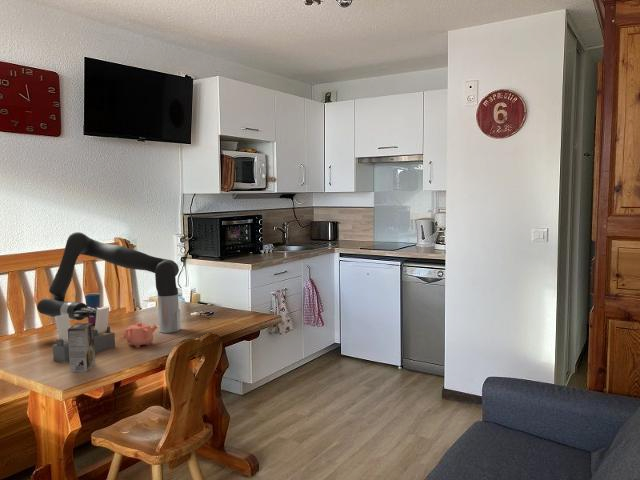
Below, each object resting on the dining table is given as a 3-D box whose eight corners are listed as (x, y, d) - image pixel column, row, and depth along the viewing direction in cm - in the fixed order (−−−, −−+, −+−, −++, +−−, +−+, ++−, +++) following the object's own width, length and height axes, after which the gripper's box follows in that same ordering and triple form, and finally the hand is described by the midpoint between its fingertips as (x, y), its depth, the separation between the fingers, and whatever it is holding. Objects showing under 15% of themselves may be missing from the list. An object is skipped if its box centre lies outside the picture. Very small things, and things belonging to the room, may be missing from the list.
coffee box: (78, 364, 205) (76, 322, 204) (95, 363, 205) (93, 322, 204) (69, 372, 196) (66, 328, 194) (87, 371, 196) (85, 328, 195)
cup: (104, 322, 273) (102, 293, 271) (94, 326, 266) (93, 296, 265) (93, 322, 275) (91, 293, 274) (83, 325, 269) (81, 295, 267)
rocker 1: (60, 344, 211) (54, 316, 211) (71, 341, 215) (65, 314, 216) (63, 343, 210) (56, 315, 211) (74, 340, 214) (68, 313, 215)
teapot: (158, 341, 237) (157, 319, 236) (148, 348, 225) (147, 325, 224) (132, 341, 237) (131, 319, 236) (121, 348, 225) (120, 325, 225)
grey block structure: (53, 359, 211) (52, 338, 211) (103, 344, 233) (102, 325, 232) (65, 362, 208) (63, 340, 207) (115, 346, 229) (114, 326, 228)
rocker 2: (94, 333, 225) (96, 308, 223) (104, 331, 229) (106, 306, 227) (97, 335, 224) (99, 309, 222) (106, 332, 229) (109, 307, 227)
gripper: (59, 305, 228) (87, 308, 220) (86, 299, 240) (113, 302, 231) (60, 322, 229) (88, 326, 220) (87, 316, 240) (114, 319, 232)
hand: (101, 314), depth 226 cm, fingers closed
